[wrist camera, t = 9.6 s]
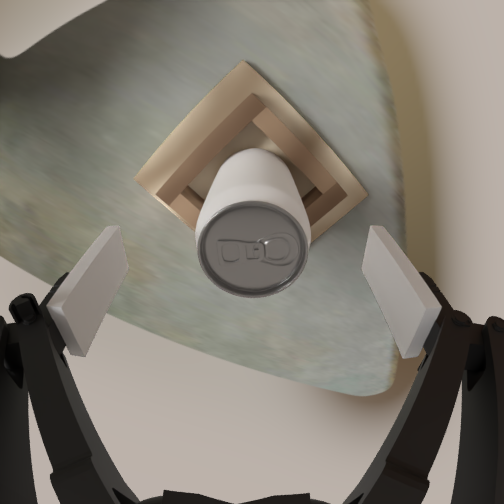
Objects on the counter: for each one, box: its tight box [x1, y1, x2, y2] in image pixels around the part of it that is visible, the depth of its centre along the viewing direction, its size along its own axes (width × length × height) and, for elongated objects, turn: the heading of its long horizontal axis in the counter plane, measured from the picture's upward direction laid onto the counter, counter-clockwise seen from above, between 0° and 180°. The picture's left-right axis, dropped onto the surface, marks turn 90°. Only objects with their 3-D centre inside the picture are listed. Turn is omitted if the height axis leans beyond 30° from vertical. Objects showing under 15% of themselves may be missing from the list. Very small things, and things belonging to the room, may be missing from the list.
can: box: [195, 148, 311, 298], centre depth 21 cm, size 6×6×12 cm
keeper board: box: [134, 60, 368, 243], centre depth 25 cm, size 16×14×3 cm
